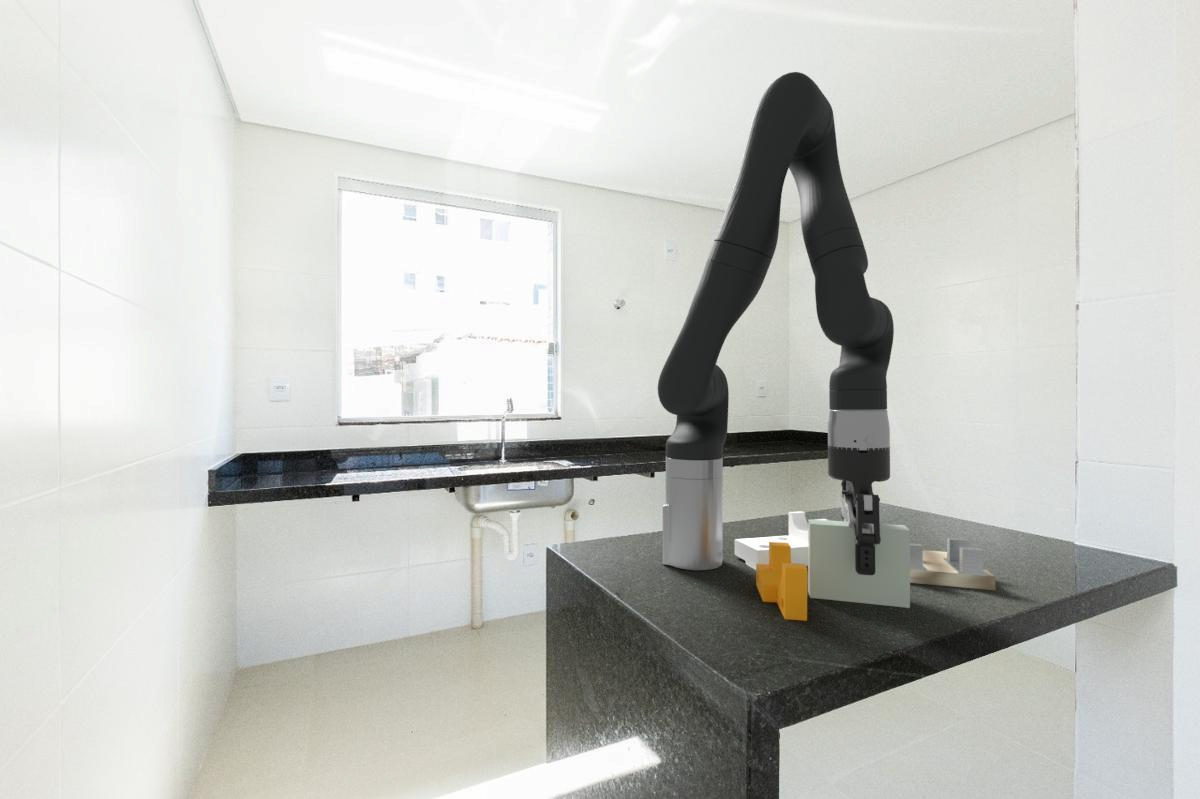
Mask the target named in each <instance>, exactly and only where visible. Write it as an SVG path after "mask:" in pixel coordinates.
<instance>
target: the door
mask: <svg viewBox="0 0 1200 799" xmlns="http://www.w3.org/2000/svg"><path fill="white" fill-rule="evenodd" d="M807 521H808V522H807V523H808V566H807V592H808V595H809V598H811V599H819V600H830V601H831V600H832V601H838V602H839V601H840V602H848V603H859V604H868V605H869V604H870V605H878V606H889V607H898V608H904V609H905V608H906V609H911V608H910V607H911V583H910V535H911V530H910V529H909V528H908V527H907V526H906V525H905V524H904V525H903V524H892V523H891V524H890V523H889V524H888V523H880V537H881V541H880V544H877V546H876V545H875V574H874V575H860V574H858V573H857V572H856V570H855V541H854V532H853V529H852V528H850V527H849V525H848V522H845V521H844V520H842V521H841V520H829V519H827V520H814V518H813V519H812V518H811V519H810V518H808V520H807ZM862 533H870V530H869V529H862Z"/></svg>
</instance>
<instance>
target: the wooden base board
mask: <svg viewBox="0 0 1200 799" xmlns="http://www.w3.org/2000/svg"><path fill="white" fill-rule="evenodd" d="M943 558H947V551H940V550H938V551H937V550H926V549H925V550H924V549H923V566H924V567H925V568H926V571H924V570H912V569H910V584H921V585H922V584H923V585H931V586H932V585H933V586H944V587H955V588H967V589H977V590H987V591H988V590H989V591H996V576H995V575H994V574H993V573H991V572H990V571H989V570H988V569H986V568H985V567H984V571H985V572H986V573H988V576H983V575H971V574H959V573H957V572H956V571H955V570H954V569H953V568H952V567H951V566H950V565H948V564H947V563H946V562H945V561H944V560H943Z"/></svg>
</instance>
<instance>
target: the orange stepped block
mask: <svg viewBox="0 0 1200 799" xmlns="http://www.w3.org/2000/svg"><path fill="white" fill-rule="evenodd" d="M755 581H756V582H755V586H756V589H757V590H758V592H759V595H760V598H761V600H762V602H764V603H776V604H777V606H778V608H779V610H780V613H781V614H782V617H783V618H784V620H790V621H791V620H793V621H808V567H807V566H805V565H804V564H795V563H791V546H790V545H789V544H788V543H782V542H769V564H756V570H755Z"/></svg>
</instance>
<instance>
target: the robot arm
mask: <svg viewBox="0 0 1200 799" xmlns="http://www.w3.org/2000/svg"><path fill="white" fill-rule="evenodd" d="M822 91H823V90H821V89H820V87H819V86H818V85H817V83H816V82H815V81H814V80H813V79H812V78H811V77H809V76H808V75H807V74H805V73H803V72H799V71H793V72H787V73H785V74H783V75H780V76H779V77H778V78H776V79H775V80H773V82H772V83H771V84H770V85H769V86H768V87H767V89H765V91H764V93H763V95H762V96H761V98H760V100H759V102H758V104H757V106H756V109H755V112H754V114H753V117H752V121H751V123H750V124H751V125H750V128H749V129H750V130H749V132H748V137H747V141H746V144H745V149H744V152H743V156H742V160H741V163H740V168H739V171H738V174H737V177H736V180H735V182H734V185H733V187H732V191H731V193H730V196H729V200H728V202H727V205H726V208H725V211H724V214H723V216H722V220H721V222H720V225H719V227H718V230H717V232H716V235H715V237H714V239H713V242H712V244H711V248H710V251H709V252H708V256H707V259H706V262H705V265H704V269H703V270H702V271H703V272H702V274H701V277H700V280H699V283H698V285H697V288H696V290H695V294H694V296H693V299H692V300H691V303H690V307H689V309H688V313H687V315H686V318H685V321H684V322H683V326H682V327H681V330H680V331H679V334H678V336H677V338H676V340H675V342H674V344H673V346H672V348H671V350H670V353H669V354H668V356H667V359H666V360H665V362H664V365H663V367H662V369H661V372H660V375H659V377H658V383H657V396H658V398H659V402H660V404H661V406H662V407H663V408H664V409H665V410H666V411H667V412H668V413H670V414H672V415H674V416H676V424H675V428H674V430H673V432H672V433H671V435H670V436H669V437H668V438H667V440H666V443H665V503H663V506H662V565H667V566H671V567H674V568H678V569H681V570H682V569H683V570H689V571H708V570H709V571H710V570H715V569H718V568H720V567H721V566H722V565H723V554H724V551H723V526H724V525H723V523H724V522H723V521H724V520H723V515H724V514H723V511H724V510H723V502H724V500H723V498H724V496H723V493H724V492H723V491H724V490H723V488H724V487H723V486H724V485H723V483H724V482H723V480H724V479H723V477H724V476H723V473H724V472H723V470H724V469H723V468H724V466H723V461H724V459H723V458H724V457H723V456H724V446H725V443H726V441H727V436H728V429H729V428H728V426H729V425H728V423H729V402H730V399H729V396H730V395H729V382H728V380H727V377H726V374H725V373H724V371H723V369H722V368H721V367H720V366H719V365H717V363H718V360H719V359H718V358H719V356H720V354H721V350H722V348H723V346H724V343H725V340H726V339H727V336H728V335H729V334H730V332H731V330H732V329H733V327H734V326H735V325H736V324H737V322H738V321H739V320H740V318H741V317H742V316H743V315H744V313H745V312H746V310H747V309H748V308H749V306H750V305H751V304H752V303H753V301H754V300H755V298H756V296H757V295H758V293H759V291H760V290H761V287H762V286H763V284H764V281H765V278H766V275H767V274H768V271H769V268H770V266H771V263H772V260H773V258H774V255H775V252H776V248H777V245H778V241H779V240H778V239H779V230H780V218H781V216H780V215H781V205H782V194H783V187H784V184H785V180H786V176H787V173H788V170H790V173H791V176H792V177H793V179H794V182H795V185H796V188H797V192H798V196H799V202H800V224H801V234H802V238H803V242H804V246H805V250H806V253H807V257H808V260H809V264H810V267H811V270H812V273H813V276H814V293H815V294H814V295H815V297H814V298H815V306H816V307H815V308H816V315H817V319H818V323H819V326H820V328H821V330H822V332H823V334H824V335H825V337H826V338H827V339H828V340H829V341H831V342H832V343H833V344H835V345H838V346H840V347H841V348H840V356H839V357H840V358H839V365H838V366H837V367H836V368H834V370H832V372H830V375H829V376H830V377H829V385H828V388H829V390H828V392H829V397H828V398H829V400H828V401H829V406H828V407H829V413H828V422H827V467H828V468H827V469H828V471H827V473H828V476H829V477H830V478H831V479H834V480H838V481H841V483H840V485H841V492H840V499H841V515H840V517H841V518H842V521H845V522H848V525H849V527H850V528H852V529H853V532H854V541H855V570H856V572H857V573H858V574H860V575H874V574H875V545H876V546H877V544H880V541H881V537H880V524H881V523H880V520H881V519H880V502H881V501H880V500H881V499H880V497H879V494H874V492H873V483H874V482H878V483H879V482H886V481H888V480H890V478H891V443H890V441H891V438H890V436H891V435H890V434H891V432H890V431H891V429H890V422H889V421H890V420H889V415H888V414H889V413H888V384H887V373H888V368H889V365H890V361H891V355H892V349H893V344H894V333H895V332H894V331H895V328H894V326H895V325H894V319H893V314H892V312H891V310H890V308H889V307H888V306H887V304H886V303H885V302H883V301H882V300H879V299H878V298H875V297H871V296H870V293H869V290H868V287H867V282H866V279H865V278H866V277H865V274H866V272H867V270H868V268H869V260H868V254H867V250H866V248H865V243H864V241H863V239H862V235H861V232H860V229H859V228H860V227H859V226H858V223H857V220H856V217H855V214H854V211H853V208H852V205H851V202H850V199H849V196H848V193H847V189H846V187H845V183H844V180H843V175H842V170H841V165H840V160H839V155H838V153H839V152H838V145H837V144H838V143H837V134H836V127H835V125H836V124H835V117H834V111H833V107H832V105H831V103H830V101H829V99H828V98H827V97H826V96H825V95H824V92H822ZM862 529H869V530H870V533H862Z"/></svg>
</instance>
